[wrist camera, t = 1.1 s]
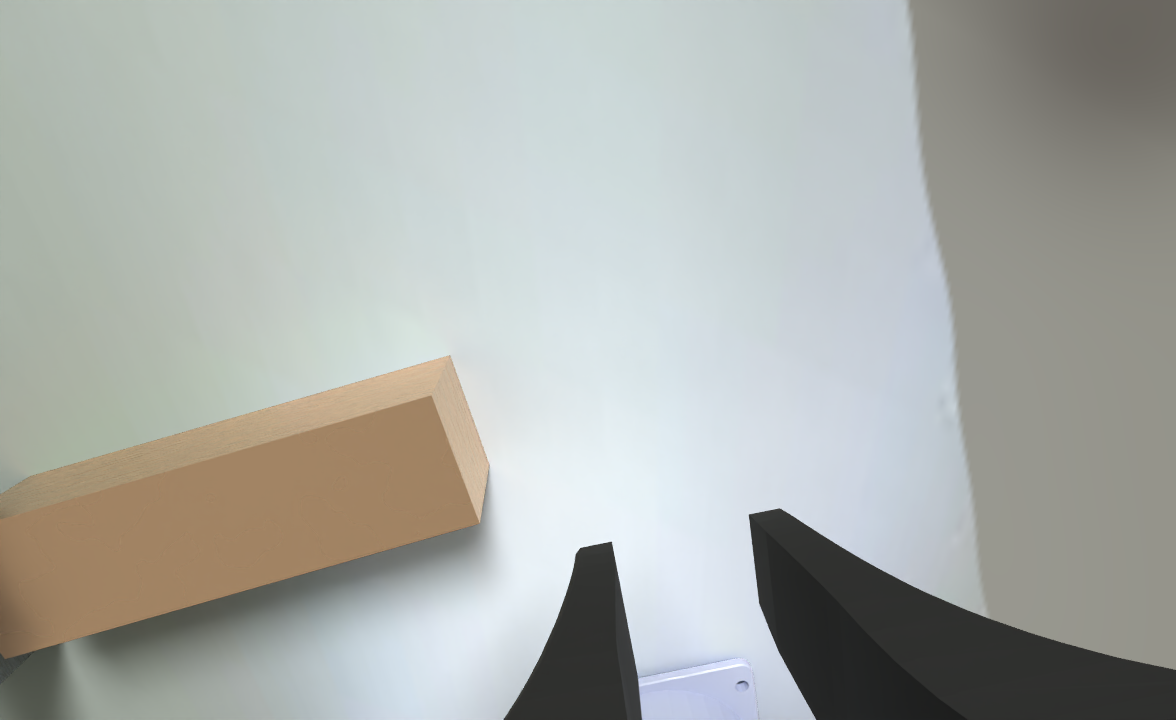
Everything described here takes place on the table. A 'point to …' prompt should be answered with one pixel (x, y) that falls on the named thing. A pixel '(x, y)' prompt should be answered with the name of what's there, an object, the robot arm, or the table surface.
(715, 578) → the table surface
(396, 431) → the pine wood beam
